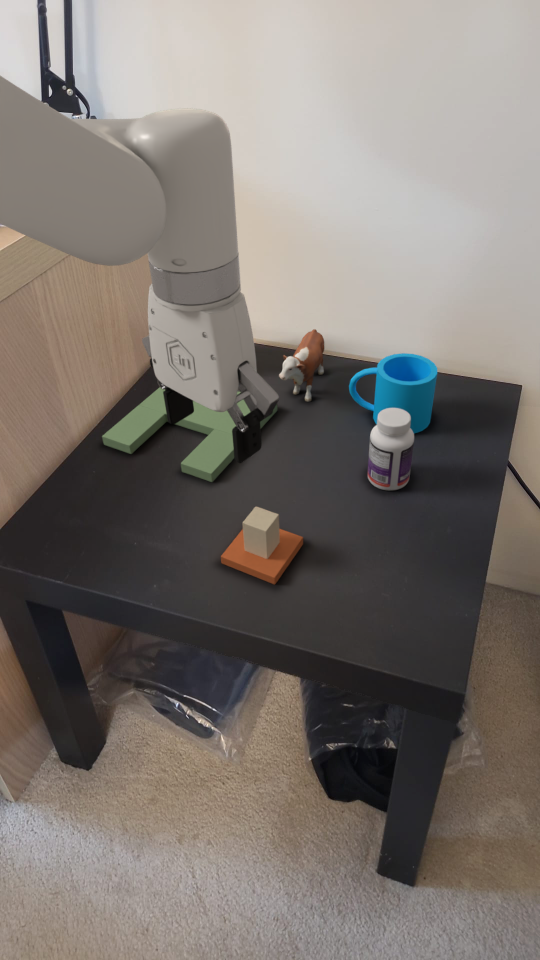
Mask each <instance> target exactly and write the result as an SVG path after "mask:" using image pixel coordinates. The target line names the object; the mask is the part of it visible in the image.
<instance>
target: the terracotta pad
mask: <svg viewBox="0 0 540 960" xmlns="http://www.w3.org/2000/svg"><path fill="white" fill-rule="evenodd" d="M303 545H304V536H301V535H298V534H296V533H293V532H291V531H287V530H284V529H283V528H280V514H279V513H277V512H273V511H270V510H267V509H265V508H262V507H259V506H255V507H253V509H252V511H250V513H249V514H248V515H247V516H246V518H245V519H244V520H243V521H242V529H241V530H240V532H239V533H238V534H237V535H236V537H235V538H234V539H233V540H232V542H231V543H230V544H229V546H228V547H227V548H226V549H225V550H224V552H223V553H222V554H221V555H220V561H221V562H220V563H221V564H222V565H224V566H227V567H230V568H232V569H233V570H234V569H235V570H237V571H240V572H242V573H245V574H247V575H250V576H252V577H255V578H257V579H259V580H262V581H265V582H267V583H270V584H271V585H276V584H277V583H278V581H279V579H280V578H281V577H282V575H283V574H284V572H285V571H286V570H287V568H288V567H289V566H290V564H291V562H292V561H293V559H294V558H295V556H296V555H297V554H298V553H299V551H300V550H301V548H302V547H303Z"/></svg>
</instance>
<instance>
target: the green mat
mask: <svg viewBox="0 0 540 960" xmlns="http://www.w3.org/2000/svg"><path fill="white" fill-rule="evenodd" d="M163 391H165V389H164V390H163V389H161V388H160V387H159V386H158V388H157V389H156V390H155V391H153V392H152V393H151V394H150V395H149V396H147V397H146V398H145V399H144V400H143V401H141V403H139V404H137V406H136V407H134V409H132V410H131V411H130V412H129V413H127V414H126V415H125V416H124V417H123V418H121V419H120V420H119V421H118V422H117V423H116V424H114V426H112V427H111V428H110V429H109V430H107V431H106V432H104V434H102V436H101V438H102V443H103V445H104V446H107V447H109V448H112V449H116V450H118V451H121V452H124V453H126V454H130V455H133V454H134V452H135V451H136V450H137V449H138V448H140V446H142V445H143V444H144V443H145V442H146V441H147V440H149V438H150V437H152V436H153V435H154V434H155V433H156V432H157V431H159V429H160V428H161V427H163V425H165V424H166V423H169V422H168V419H167V413H166V407H165V401H164V395H163ZM239 393H241V392H240V391H239V390H238V391H237V395H238V394H239ZM193 405H194V412H193V413H192V414H191V415H189V416H187V417H186V418H184V419H182V420H181V421H179V422H178V423H176V424H175V426H179V427H182V428H185V429H189V430H192V431H195V432H198V433H201V434H204V435H207V436H206V437H205V438H204V439H203V440H202V441H201V442H200V443H199V444H198V445H197V446H196V447H195V448H194V449H193V450H192V451H191V452H190V453H189V454H188V455H187V456H186V457H185V458H184V459H183V460H182V461H181V462H180V468H181V472H182V473H184V474H187V475H190V476H193V477H195V478H199V479H201V480H204V481H207V482H210V483H213V482H214V481H215V480H216V479H217V478H218V477H219V476H220V475H221V473H223V471H224V470H225V469H226V468H227V467H228V466H229V464H230V463H232V461H233V460H235V458H234V447H233V436H232V429H233V428H234V427H235V426H236V425H235V423H234V421H233V420H232V418H231V416H230V415H229V413H228V411H225V412H217V411H214V410H211V409H209V408H207V407H205V406H203V405H201V404H199V403H197V402H195V401H193ZM237 405H238V406H239V408H240V410H241V412H242V413H243V415H244V416H245V415H247V414H248V413H250V410H249V408H248V406H247V405H246V403H245V401H244V400H241V401H240V402H238V403H237ZM277 411H278V403H277V404H276V406H275V408H274V410H273V413H272V414H271V415H270V416H268V417H267V418H265V419H264V420H262V421H261V422H260V428H261V429H262V428H264V426H265V425H266V424H267V423H268V422H269V420H270V419H271V418H272V417H273V416H274V415H275V414H276V413H277Z"/></svg>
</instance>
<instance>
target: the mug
mask: <svg viewBox="0 0 540 960" xmlns="http://www.w3.org/2000/svg"><path fill="white" fill-rule="evenodd" d="M369 375H376V377H375V388H374V389H375V391H374V402H373V404H372V403H371V402H368V401H367V400H365V399H364V398H362V396H360V394H359V392H358V391H357V383H358V382H359V380H360V379H362V378H363V377H365V376H369ZM437 379H438V367H437V365H436V363H435V362H433V361H432V360H431V359H429V358H427V357H425V356H423V355H419V354H414V353H407V352H406V353H405V352H403V353H401V352H400V353H394V354H389V355H386V356H385V357H384V358H381V359H380V361H379V362H378V363H377V365H376V367H369V368H368V367H367V368H364V369H362V370H360V371H358V372H356V373H355V374H353V376H352V378H351V379H350V380H349V385H348V390H349V394H350V396H351V398H352V400H353V401H354V402H355V403H356V404H358V405H359V406H360V407H362V408H364V409H366V410H368V411H371V412H373V415H372V419H373V421H374V423H375V425H377V418H378V414H379V412H381V411H382V410H384V409H387V408H399V409H403V410H405V411H407V412H408V413H409V414H410V416H411V425H410V428H411V429H412V431H413V433H414V435H415V434H418V433H420V432H423V431H424V430H425V429H427V428H428V427H429V425H430V424H431V419H432V412H433V406H434V405H433V404H434V398H435V392H436V387H437Z"/></svg>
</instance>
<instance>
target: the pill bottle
mask: <svg viewBox="0 0 540 960" xmlns="http://www.w3.org/2000/svg"><path fill="white" fill-rule="evenodd" d="M410 425H411V416H410V414H409V413H408V412H407V411H405V410H403V409H399V408H387V409H384V410H382V411H381V412H379V414H378V418H377V424H375V425H374V426H373V428H372V429H371V431H370V436H369V446H368V447H369V450H368V461H367V479H368V481H369V482H370V484H371V485H372V486H374V487H375V488H377V489H379V490H382V491H397V490H400V489H403V488H404V487H405V486H406V485H407V484H408V483H409V481H410V475H411V469H412V461H413V453H414V445H415V434H414V433H413V431H412V429H411V428H410Z"/></svg>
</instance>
